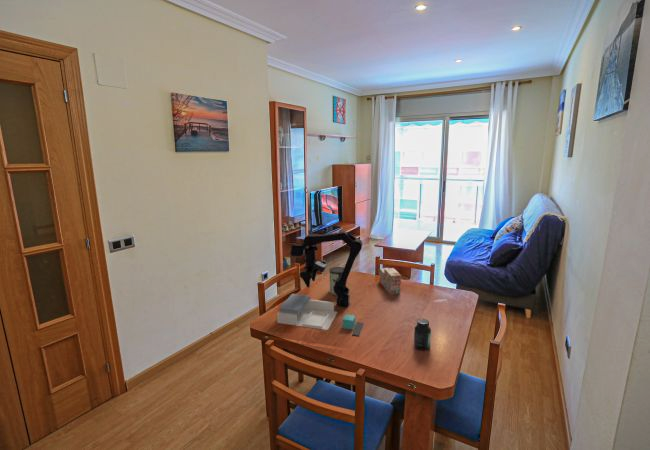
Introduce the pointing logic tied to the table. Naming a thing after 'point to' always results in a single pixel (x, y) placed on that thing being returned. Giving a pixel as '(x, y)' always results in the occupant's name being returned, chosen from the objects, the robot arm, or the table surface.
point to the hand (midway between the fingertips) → (311, 284)
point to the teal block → (348, 321)
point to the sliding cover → (294, 303)
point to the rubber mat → (358, 329)
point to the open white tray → (311, 315)
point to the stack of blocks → (390, 280)
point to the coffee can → (334, 276)
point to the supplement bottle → (422, 335)
